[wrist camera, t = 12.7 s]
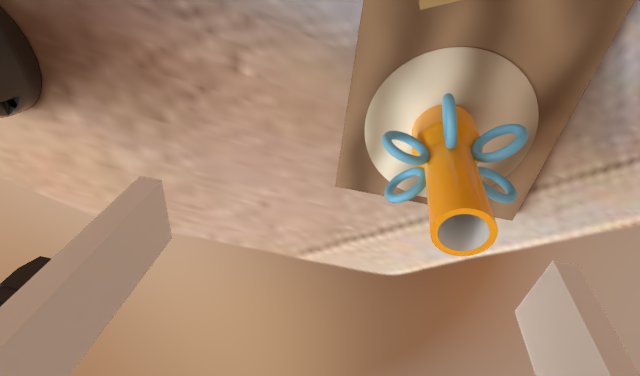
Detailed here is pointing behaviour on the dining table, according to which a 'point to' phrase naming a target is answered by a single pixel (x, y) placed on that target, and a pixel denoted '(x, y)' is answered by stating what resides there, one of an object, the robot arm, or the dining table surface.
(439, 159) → the cylinder
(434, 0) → the wooden block
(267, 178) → the dining table surface
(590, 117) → the dining table surface
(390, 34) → the board
